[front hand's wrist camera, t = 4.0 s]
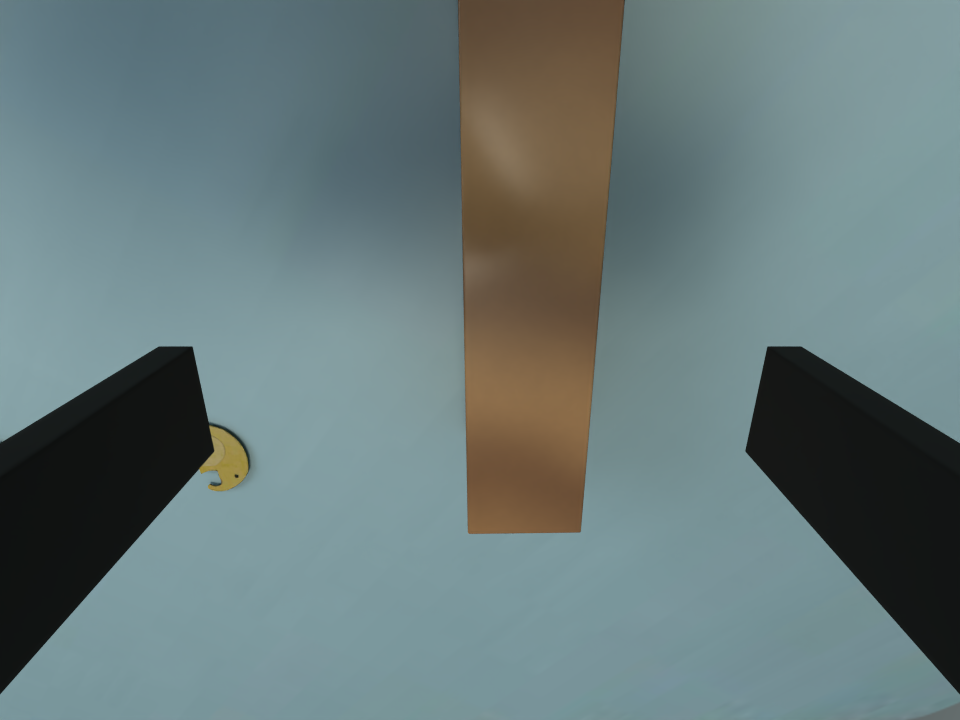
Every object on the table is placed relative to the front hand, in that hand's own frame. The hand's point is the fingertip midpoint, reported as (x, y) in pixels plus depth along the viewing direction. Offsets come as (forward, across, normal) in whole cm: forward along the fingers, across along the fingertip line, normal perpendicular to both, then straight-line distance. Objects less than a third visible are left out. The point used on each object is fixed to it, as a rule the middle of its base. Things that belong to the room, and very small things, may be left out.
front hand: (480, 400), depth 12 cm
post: (+16, -2, -28) cm, 32 cm away
